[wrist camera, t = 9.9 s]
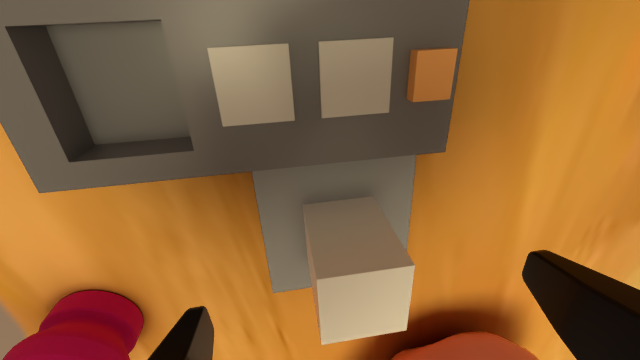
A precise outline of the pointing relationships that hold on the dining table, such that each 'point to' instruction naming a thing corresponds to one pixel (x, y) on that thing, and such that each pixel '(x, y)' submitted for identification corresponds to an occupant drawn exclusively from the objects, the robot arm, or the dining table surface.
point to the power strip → (222, 85)
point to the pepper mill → (84, 330)
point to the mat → (322, 186)
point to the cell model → (468, 349)
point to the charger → (356, 270)
